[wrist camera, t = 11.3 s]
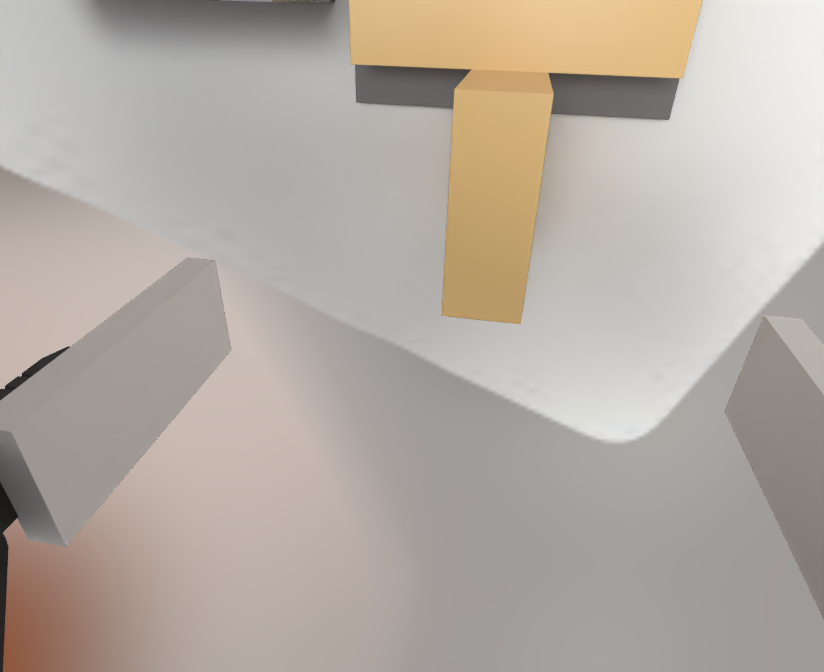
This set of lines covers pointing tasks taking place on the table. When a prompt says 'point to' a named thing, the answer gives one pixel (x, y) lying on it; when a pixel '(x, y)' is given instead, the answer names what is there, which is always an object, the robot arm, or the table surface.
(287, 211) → the table surface
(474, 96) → the amber lid
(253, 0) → the charcoal tub
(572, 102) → the grey rubber mat
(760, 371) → the robot arm
